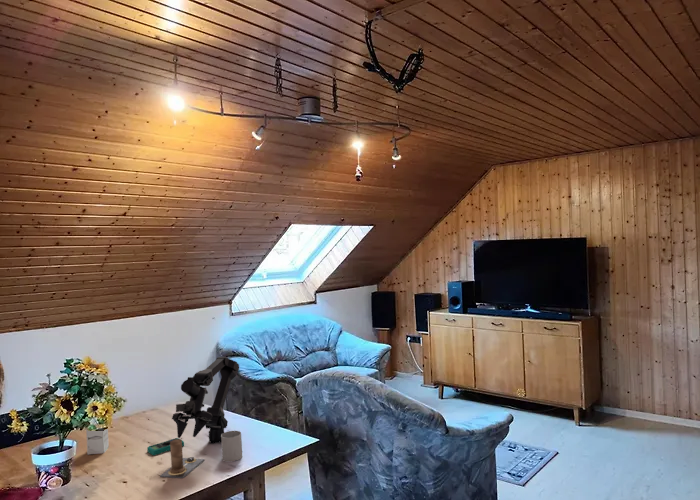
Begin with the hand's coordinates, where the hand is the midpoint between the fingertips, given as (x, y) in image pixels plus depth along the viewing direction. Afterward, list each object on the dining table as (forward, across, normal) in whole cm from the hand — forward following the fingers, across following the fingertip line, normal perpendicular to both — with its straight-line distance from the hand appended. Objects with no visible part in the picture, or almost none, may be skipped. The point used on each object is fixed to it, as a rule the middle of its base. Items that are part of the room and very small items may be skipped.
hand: (186, 437), depth 222 cm
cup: (+4, +12, +17) cm, 21 cm away
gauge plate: (+12, 0, +2) cm, 12 cm away
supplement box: (+6, -50, -5) cm, 51 cm away
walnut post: (+14, +2, -1) cm, 14 cm away
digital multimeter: (+2, -23, +10) cm, 26 cm away
